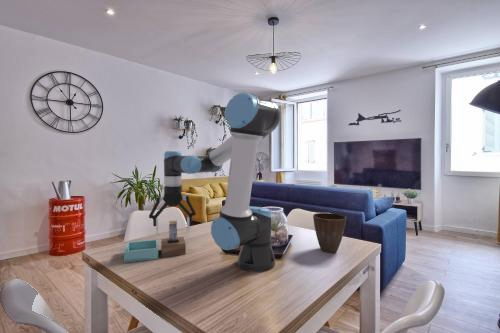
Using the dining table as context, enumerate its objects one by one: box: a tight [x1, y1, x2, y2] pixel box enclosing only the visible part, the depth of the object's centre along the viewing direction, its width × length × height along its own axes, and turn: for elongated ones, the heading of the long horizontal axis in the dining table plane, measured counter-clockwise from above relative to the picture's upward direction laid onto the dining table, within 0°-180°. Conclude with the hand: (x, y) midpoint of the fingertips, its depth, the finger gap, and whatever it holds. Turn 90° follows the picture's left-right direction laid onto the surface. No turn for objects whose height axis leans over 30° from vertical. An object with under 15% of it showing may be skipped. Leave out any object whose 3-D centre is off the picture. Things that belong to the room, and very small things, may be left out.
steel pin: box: [168, 220, 178, 243], centre depth 118 cm, size 4×4×14 cm
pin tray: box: [123, 238, 159, 264], centre depth 114 cm, size 13×13×4 cm
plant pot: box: [312, 212, 347, 253], centre depth 121 cm, size 15×15×16 cm
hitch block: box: [160, 236, 187, 258], centre depth 118 cm, size 10×10×5 cm
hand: (172, 232), depth 118 cm, fingers open, 13 cm apart
